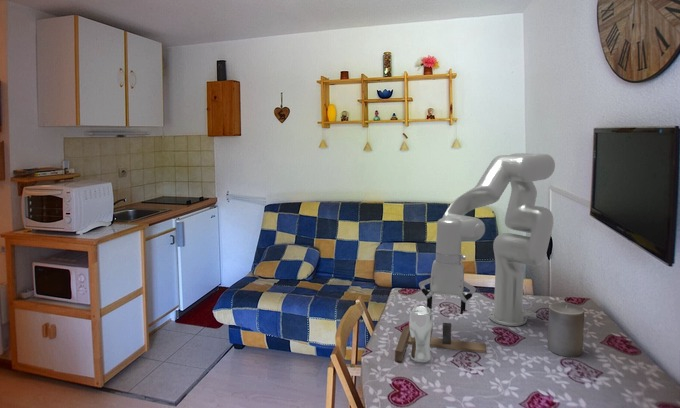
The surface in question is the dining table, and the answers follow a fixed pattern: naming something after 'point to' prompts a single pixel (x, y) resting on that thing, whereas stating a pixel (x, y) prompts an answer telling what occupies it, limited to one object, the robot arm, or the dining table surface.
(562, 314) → the pillar candle
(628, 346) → the dining table surface
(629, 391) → the dining table surface
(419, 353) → the beer glass
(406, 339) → the brown wooden bent piece
